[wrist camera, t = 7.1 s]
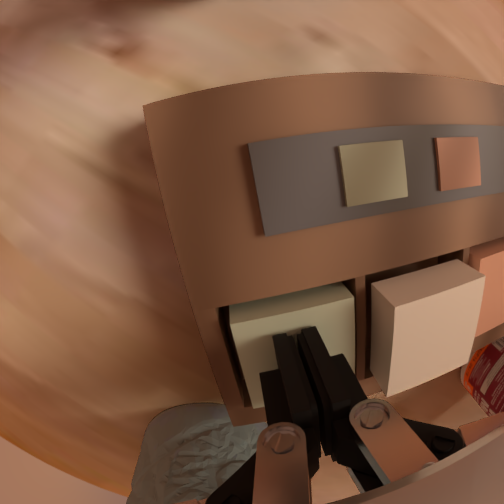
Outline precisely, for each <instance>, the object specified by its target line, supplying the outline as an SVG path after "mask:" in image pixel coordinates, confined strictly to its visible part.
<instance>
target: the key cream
mask: <svg viewBox="0 0 504 504" xmlns="http://www.w3.org/2000/svg"><path fill="white" fill-rule="evenodd" d="M485 277H486V276H485V275H483V274H482V273H480V272H479V271H477V270H475V269H474V268H472V267H470V266H469V265H467V264H465V263H463V262H462V261H460V260H458V259H455V260H452V261H449V262H445V263H442V264H439V265H435V266H432V267H428V268H425V269H421V270H418V271H414V272H411V273H407V274H404V275H400V276H396V277H393V278H389V279H385V280H381V281H378V282H374V283H371V355H370V370H371V372H372V374H373V375H374V377H375V379H376V380H377V382H378V384H379V385H380V387H381V389H382V391H383V392H384V394H385V396H386V397H390V396H392V395H395V394H398V393H400V392H403V391H405V390H408V389H411V388H413V387H416V386H418V385H420V384H423V383H425V382H428V381H430V380H432V379H434V378H437V377H439V376H441V375H443V374H446V373H448V372H450V371H452V370H454V369H456V368H458V367H460V366H462V365H464V364H466V363H468V361H469V357H470V353H471V349H472V346H473V341H474V337H475V333H476V329H477V324H478V319H479V314H480V309H481V303H482V297H483V291H484V285H485Z"/></svg>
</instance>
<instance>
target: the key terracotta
mask: <svg viewBox="0 0 504 504" xmlns="http://www.w3.org/2000/svg"><path fill="white" fill-rule="evenodd" d="M468 265H469V266H470V267H472V268H474V269H475V270H477V271H479V272H480V273H482V274H483V275H485V276H486V277H485V285H484V291H483V297H482V303H481V309H480V314H479V319H478V324H477V329H476V333H475V337H477V336H479V335H481V334H483V333H485V332H487V331H489V330H491V329H493V328H495V327H496V326H498V325H500V324H502V323H504V237H500V238H497V239H494V240H491V241H488V242H484V243H481V244H478V245H474V246H471V247H470V250H469V263H468ZM475 337H474V338H475Z"/></svg>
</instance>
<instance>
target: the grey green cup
mask: <svg viewBox="0 0 504 504" xmlns="http://www.w3.org/2000/svg"><path fill="white" fill-rule="evenodd" d="M266 427H268V424H267V423H265V422H261V423H255V424H249V425H243V426H236V427H233V425H232V422H231V420H230V417H229V414H228V412H227V409H226V406H225V405H223V404H214V403H193V404H186V405H180V406H177V407H173V408H171V409H168V410H165V411H164V412H162V413H160V414H159V415H157V416H156V417H155V418H154V419H153V420H152V421H151V422H150V424H149V425H148V427H147V429H146V431H145V435H144V438H143V442H142V446H141V452H140V455H139V459H138V462H137V465H136V468H135V472H134V475H133V479H132V491H131V494H130V495H129V497H128V499H127V502H126V504H174V503H179V502H184V501H188V500H193V499H197V500H198V501H199V500H203V499H207V498H208V497H209V496H210V495H211V494H212V493H213V492H214V491H215V490H216V489H217V488H218V487H220V486H221V485H222V484H223V483H224V482H225V481H226V480H227V479H228V478H229V477H231V476H232V475H233V474H234V473H235V472H236V471H237V470H238V469H239V468H240V467H241V466H242V465H243V464H244V463H245V462H246V461H247V460H248V459H249V458H250V457H251V456H252V455H253V454H254V453H255V452H256V450H257V440H258V436H259V435H260V433H261V432H262V431H263V430H264V429H265V428H266Z"/></svg>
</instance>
